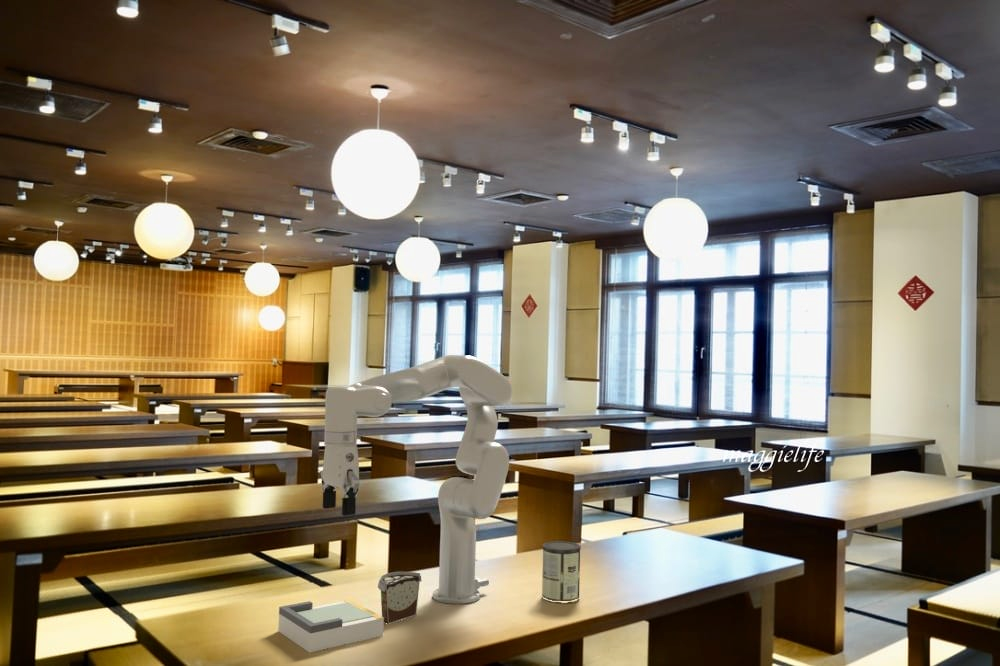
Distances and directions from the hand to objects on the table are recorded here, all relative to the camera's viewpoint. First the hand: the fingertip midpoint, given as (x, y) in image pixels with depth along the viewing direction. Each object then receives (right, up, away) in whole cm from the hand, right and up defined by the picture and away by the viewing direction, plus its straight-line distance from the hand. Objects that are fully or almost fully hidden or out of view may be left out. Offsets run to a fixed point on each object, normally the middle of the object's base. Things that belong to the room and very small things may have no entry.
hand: (338, 511), depth 183 cm
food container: (+12, -27, +6) cm, 31 cm away
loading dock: (0, -26, -7) cm, 27 cm away
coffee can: (+54, -30, +26) cm, 67 cm away
